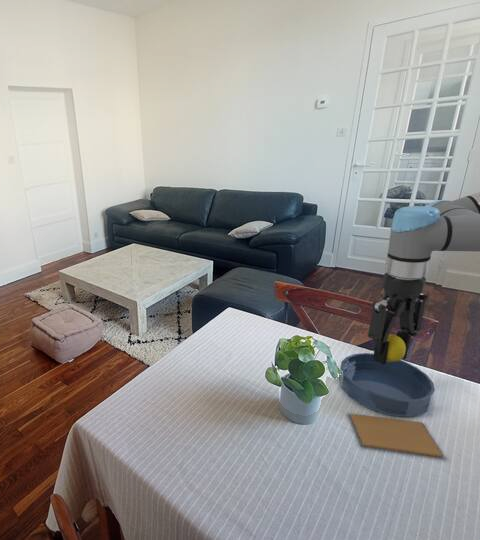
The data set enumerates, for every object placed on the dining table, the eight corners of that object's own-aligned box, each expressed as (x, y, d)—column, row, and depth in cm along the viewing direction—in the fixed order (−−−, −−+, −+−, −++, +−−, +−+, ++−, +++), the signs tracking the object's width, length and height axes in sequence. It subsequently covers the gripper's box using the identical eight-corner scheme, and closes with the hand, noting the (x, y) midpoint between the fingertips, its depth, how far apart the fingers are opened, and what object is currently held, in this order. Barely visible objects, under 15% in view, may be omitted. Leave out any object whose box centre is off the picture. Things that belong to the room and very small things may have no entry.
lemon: (377, 352, 90) (382, 326, 87) (404, 360, 86) (410, 333, 83) (373, 363, 86) (377, 336, 83) (400, 371, 82) (406, 343, 80)
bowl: (408, 371, 95) (412, 356, 93) (447, 423, 78) (452, 406, 76) (330, 364, 101) (332, 350, 99) (350, 411, 84) (353, 395, 82)
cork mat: (420, 424, 78) (421, 422, 78) (441, 457, 70) (442, 455, 70) (350, 415, 83) (351, 413, 83) (363, 446, 75) (363, 443, 75)
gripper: (420, 262, 83) (404, 343, 91) (356, 276, 80) (345, 358, 88) (455, 272, 76) (434, 358, 84) (386, 288, 73) (372, 376, 81)
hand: (389, 358), depth 86 cm, fingers closed on lemon, 5 cm apart
